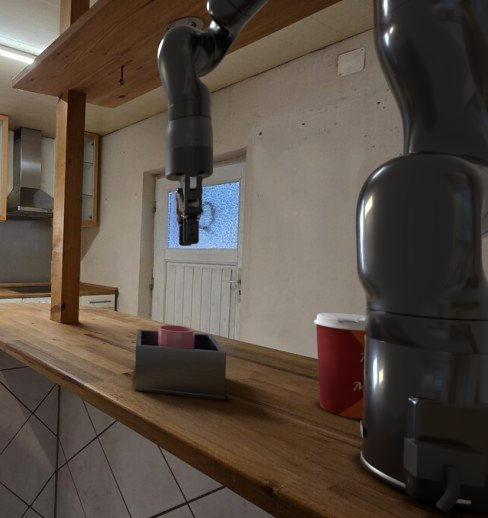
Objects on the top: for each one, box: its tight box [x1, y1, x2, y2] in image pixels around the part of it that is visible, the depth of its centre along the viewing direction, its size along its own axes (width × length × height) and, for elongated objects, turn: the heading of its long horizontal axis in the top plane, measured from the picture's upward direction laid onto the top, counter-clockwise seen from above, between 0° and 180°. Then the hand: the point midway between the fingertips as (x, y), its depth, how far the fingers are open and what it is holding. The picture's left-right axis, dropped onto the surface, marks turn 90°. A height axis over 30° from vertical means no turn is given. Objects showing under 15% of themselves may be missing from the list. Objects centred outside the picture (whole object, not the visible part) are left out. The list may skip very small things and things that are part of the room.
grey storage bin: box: [134, 329, 227, 402], centre depth 67 cm, size 14×14×8 cm
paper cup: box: [313, 312, 365, 420], centre depth 55 cm, size 8×8×14 cm
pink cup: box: [157, 324, 196, 349], centre depth 67 cm, size 6×6×9 cm
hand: (188, 245), depth 63 cm, fingers open, 8 cm apart
